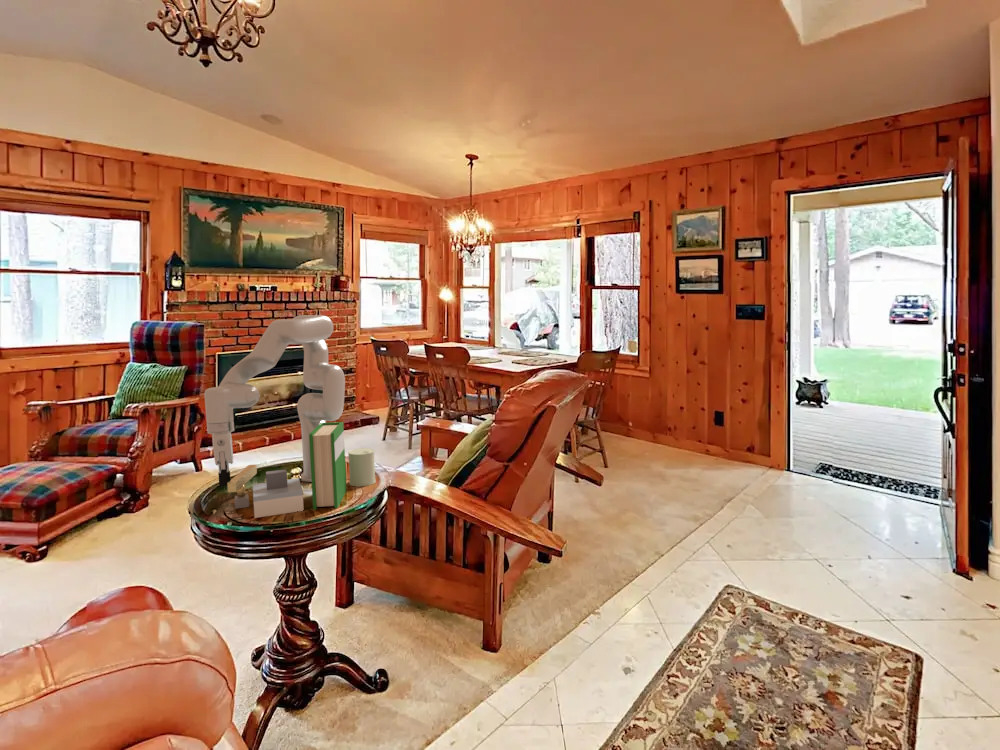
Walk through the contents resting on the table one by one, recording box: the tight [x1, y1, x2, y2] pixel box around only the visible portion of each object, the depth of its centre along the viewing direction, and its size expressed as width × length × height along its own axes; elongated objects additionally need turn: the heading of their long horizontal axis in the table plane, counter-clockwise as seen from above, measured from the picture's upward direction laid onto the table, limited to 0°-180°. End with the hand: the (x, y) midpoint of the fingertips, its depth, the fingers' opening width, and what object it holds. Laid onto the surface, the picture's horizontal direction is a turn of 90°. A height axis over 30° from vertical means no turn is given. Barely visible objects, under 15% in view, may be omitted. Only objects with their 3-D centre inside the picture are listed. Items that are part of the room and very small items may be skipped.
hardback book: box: [309, 421, 347, 511], centre depth 183 cm, size 18×7×24 cm, turn 6°
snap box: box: [233, 493, 305, 519], centre depth 177 cm, size 20×16×5 cm
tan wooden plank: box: [226, 464, 258, 497], centre depth 181 cm, size 20×2×7 cm, turn 6°
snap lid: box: [252, 469, 304, 503], centre depth 177 cm, size 14×14×6 cm
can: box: [347, 447, 377, 487], centre depth 202 cm, size 9×9×12 cm
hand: (225, 484), depth 176 cm, fingers closed
